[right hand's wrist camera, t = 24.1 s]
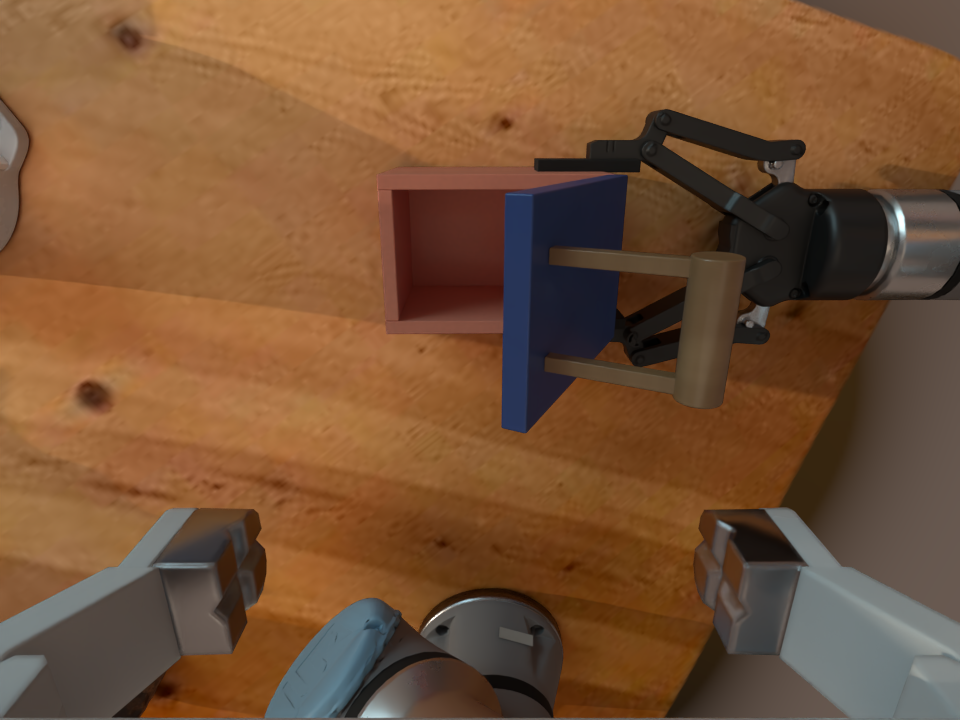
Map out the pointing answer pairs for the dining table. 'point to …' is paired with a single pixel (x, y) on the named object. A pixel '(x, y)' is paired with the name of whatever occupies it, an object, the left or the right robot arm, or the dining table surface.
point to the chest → (449, 244)
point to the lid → (599, 301)
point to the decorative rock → (139, 701)
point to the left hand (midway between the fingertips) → (533, 245)
